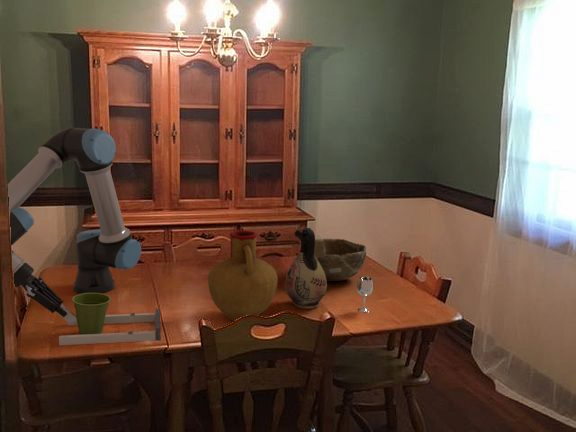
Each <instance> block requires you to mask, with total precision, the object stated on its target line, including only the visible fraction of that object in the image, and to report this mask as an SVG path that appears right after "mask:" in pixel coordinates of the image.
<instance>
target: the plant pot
mask: <svg viewBox="0 0 576 432" xmlns="http://www.w3.org/2000/svg"><path fill="white" fill-rule="evenodd" d="M111 300H112V298H111V296H110V295H108V294H104V293H83V294H82V293H78V294H76V295H74V296H73V297H72V298H71V302H72V303H73V306H74V309H75V315H76V316H77V323H78V325H77V329H78V333H79V334H80V335H86V334H103V329H104V320H105V316H106V315H107V311H108V310H107V309H108V307H109V304H110V302H111Z"/></svg>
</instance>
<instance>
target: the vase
mask: <svg viewBox="0 0 576 432" xmlns="http://www.w3.org/2000/svg"><path fill="white" fill-rule="evenodd" d="M257 236H258V233H257V232H255V231H250V230H235V231H232V232H230V233H229V237H230V257H228V258H226V259H223V260H222V261H219V262H217V263H216V264H214V265H213V266H212V268H211V269H210V270H209V272H208V273H207V282H208V283H207V284H208V292H209V295H210V297H211V299H212V301H213V303H214V305H215V306H216V308H217V309H218V310H219V311H220V312H222V313H223V314H224V315H225V316H227V317H228V318H229V319H230V320H231V319H232V320H231V321H233V320H236V319H238V318H240V317H243V316H246V315H258V316H259V315H261V314H262V313H263V312H264V311H266V310H267V309H268V307H269V306H270V305H271V303H272V301H273V298H274V296H275V294H276V292H277V287H278V274H277V271H276V270H275V268H274V267H273V266H272V265H271V264H269V263H267V262H266V261H265V260H262V259H260V258H257V252H256V251H257Z"/></svg>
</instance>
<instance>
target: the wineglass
mask: <svg viewBox="0 0 576 432" xmlns="http://www.w3.org/2000/svg"><path fill="white" fill-rule="evenodd" d="M356 290H357V293H358V295H361V296H363V297H362V300H363V301H362V302H363V306H362V307H361V308H359V307H358V308H357V311H358V312H360V313H364V312H366V313H369V312H370V311H371V310H370V309H369V308H367V307H366V299H367V298H366V297H367V296H370V295H372V293H373V292H374V291H373V290H374V283H373V279H372V278H371V277H369V276H360V277H358V280H357V285H356Z"/></svg>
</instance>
